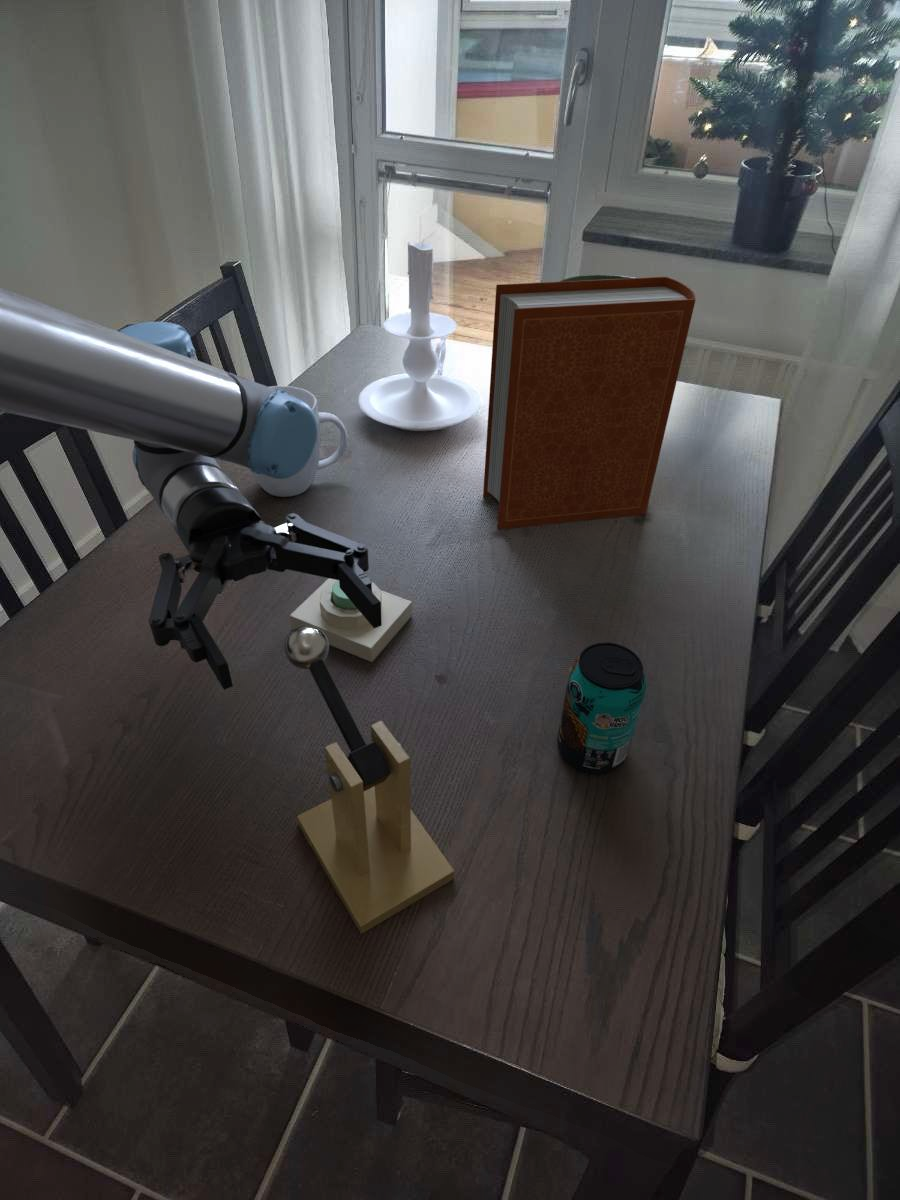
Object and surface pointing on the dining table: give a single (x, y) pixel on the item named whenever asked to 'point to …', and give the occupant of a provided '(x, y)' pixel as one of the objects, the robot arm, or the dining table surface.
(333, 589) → the light button
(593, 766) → the beverage can
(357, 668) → the dining table surface
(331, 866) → the switch bracket
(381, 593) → the switch box
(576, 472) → the book
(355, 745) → the switch lever
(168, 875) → the dining table surface
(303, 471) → the mug
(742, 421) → the dining table surface
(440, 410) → the candlestick
